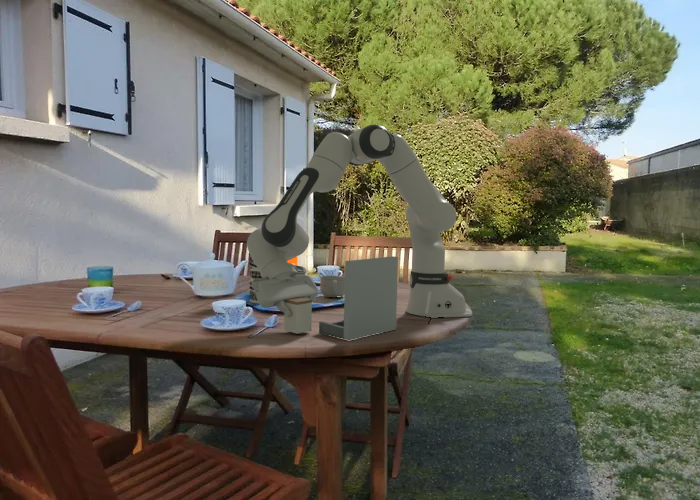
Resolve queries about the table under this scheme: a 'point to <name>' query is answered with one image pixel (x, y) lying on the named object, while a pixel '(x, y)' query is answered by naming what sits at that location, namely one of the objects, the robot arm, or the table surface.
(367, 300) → the wall board
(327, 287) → the teacup
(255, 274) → the decorative candle
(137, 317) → the table surface
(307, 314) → the grey tea canister
